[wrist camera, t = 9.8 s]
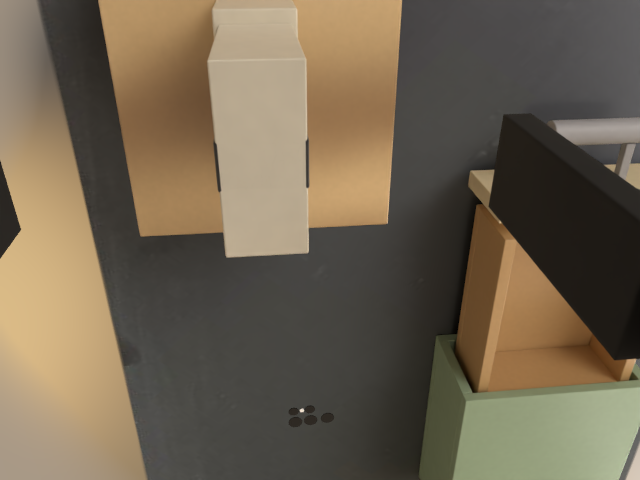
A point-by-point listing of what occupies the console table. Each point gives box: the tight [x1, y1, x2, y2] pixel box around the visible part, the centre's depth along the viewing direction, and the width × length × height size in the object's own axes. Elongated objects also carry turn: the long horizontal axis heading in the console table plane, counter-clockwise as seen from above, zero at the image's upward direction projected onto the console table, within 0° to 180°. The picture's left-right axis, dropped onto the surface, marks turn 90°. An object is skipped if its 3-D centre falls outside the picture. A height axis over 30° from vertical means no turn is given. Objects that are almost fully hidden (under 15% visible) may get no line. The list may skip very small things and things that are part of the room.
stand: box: [98, 0, 402, 236], centre depth 29 cm, size 14×12×12 cm
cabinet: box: [419, 334, 640, 480], centre depth 49 cm, size 18×15×8 cm
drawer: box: [454, 117, 640, 393], centre depth 40 cm, size 21×13×6 cm, turn 0°
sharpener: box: [207, 0, 310, 257], centre depth 20 cm, size 7×3×9 cm, turn 0°
